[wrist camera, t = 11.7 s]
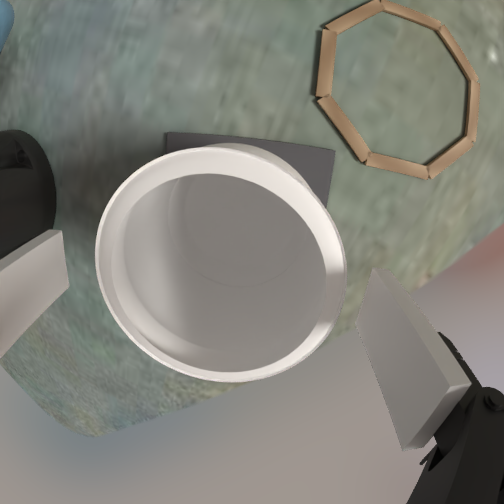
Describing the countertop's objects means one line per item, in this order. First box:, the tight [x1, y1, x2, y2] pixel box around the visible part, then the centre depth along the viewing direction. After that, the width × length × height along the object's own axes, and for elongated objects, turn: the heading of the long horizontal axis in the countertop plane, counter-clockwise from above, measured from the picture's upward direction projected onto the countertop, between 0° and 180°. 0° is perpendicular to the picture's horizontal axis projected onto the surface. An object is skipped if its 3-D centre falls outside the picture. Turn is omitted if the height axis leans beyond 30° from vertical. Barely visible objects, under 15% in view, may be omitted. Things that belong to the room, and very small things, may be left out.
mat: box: [166, 132, 335, 208], centre depth 26 cm, size 14×11×1 cm
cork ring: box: [315, 0, 480, 180], centre depth 21 cm, size 16×16×1 cm
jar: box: [95, 143, 347, 382], centre depth 19 cm, size 11×10×15 cm
